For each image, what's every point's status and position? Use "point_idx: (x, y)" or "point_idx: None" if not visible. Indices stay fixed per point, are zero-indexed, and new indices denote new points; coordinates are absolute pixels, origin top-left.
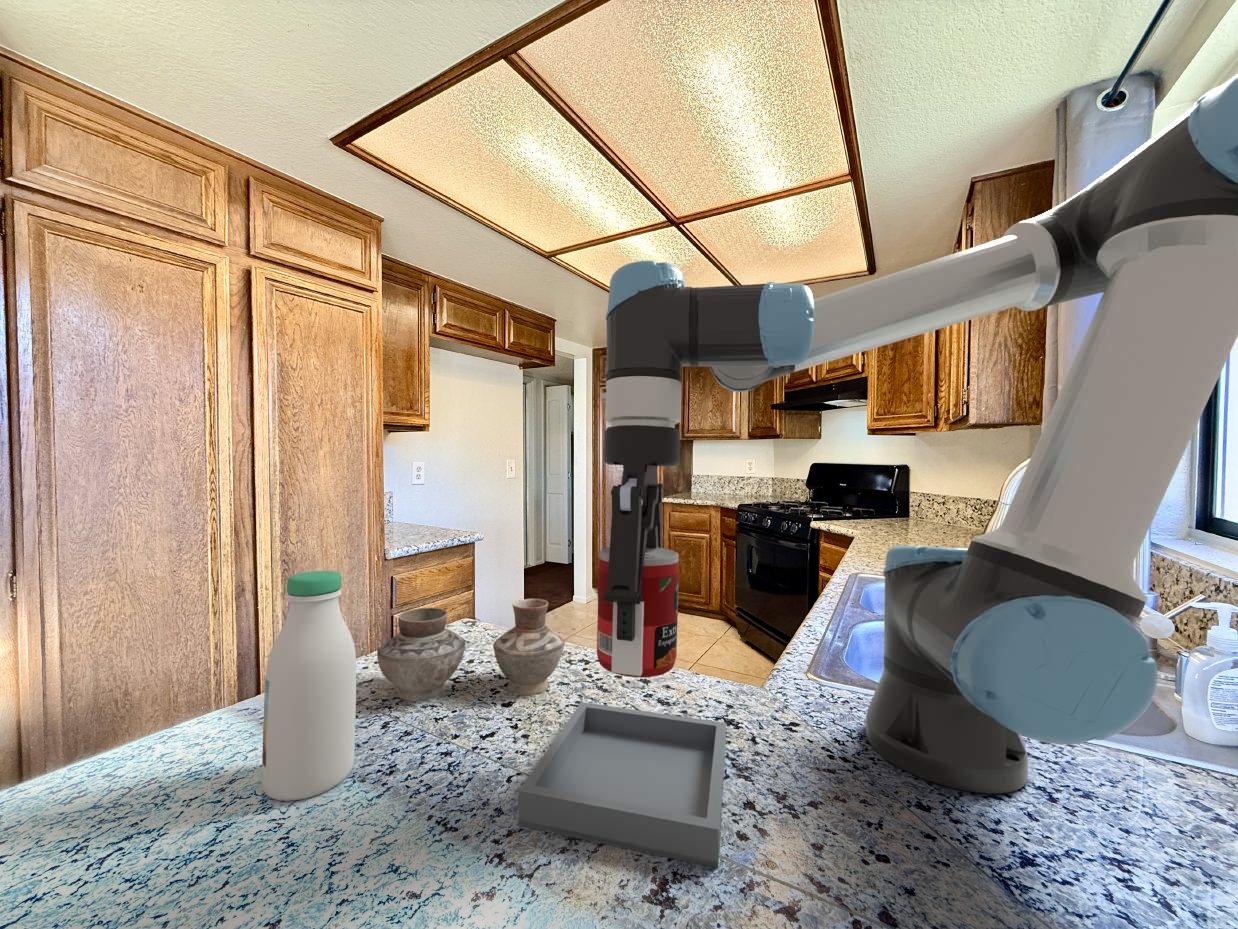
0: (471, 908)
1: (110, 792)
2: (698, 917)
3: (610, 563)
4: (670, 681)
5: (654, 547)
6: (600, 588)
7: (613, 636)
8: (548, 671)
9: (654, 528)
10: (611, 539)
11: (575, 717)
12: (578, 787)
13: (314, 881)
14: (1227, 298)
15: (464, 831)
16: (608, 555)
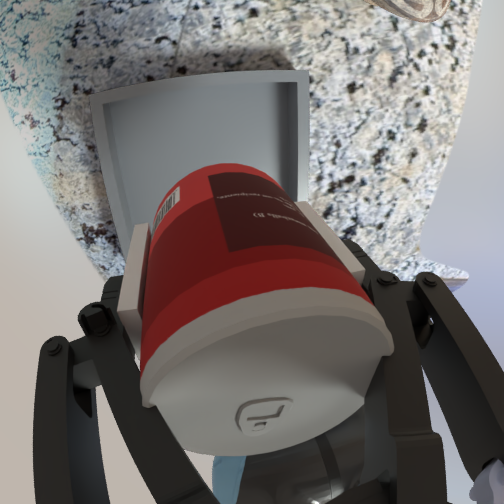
0: (20, 121)
1: None
2: (90, 259)
3: (36, 413)
4: (424, 155)
5: (364, 398)
6: (172, 262)
7: (127, 261)
8: (378, 5)
9: (365, 458)
10: (34, 473)
11: (264, 77)
12: (166, 120)
13: (2, 7)
14: None
15: (75, 54)
16: (153, 380)
